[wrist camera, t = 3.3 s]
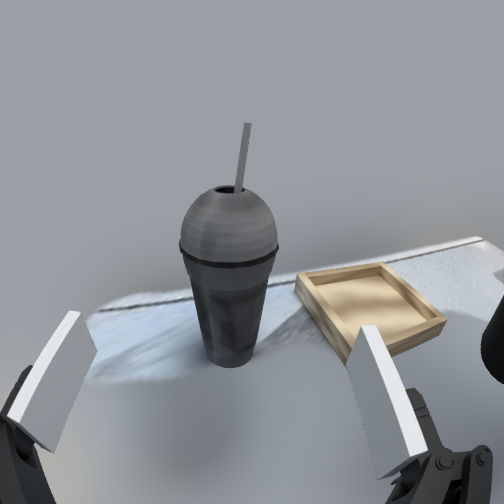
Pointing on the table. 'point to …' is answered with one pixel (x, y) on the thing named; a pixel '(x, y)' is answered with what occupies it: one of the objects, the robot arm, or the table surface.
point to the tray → (368, 307)
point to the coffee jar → (494, 344)
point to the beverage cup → (229, 264)
